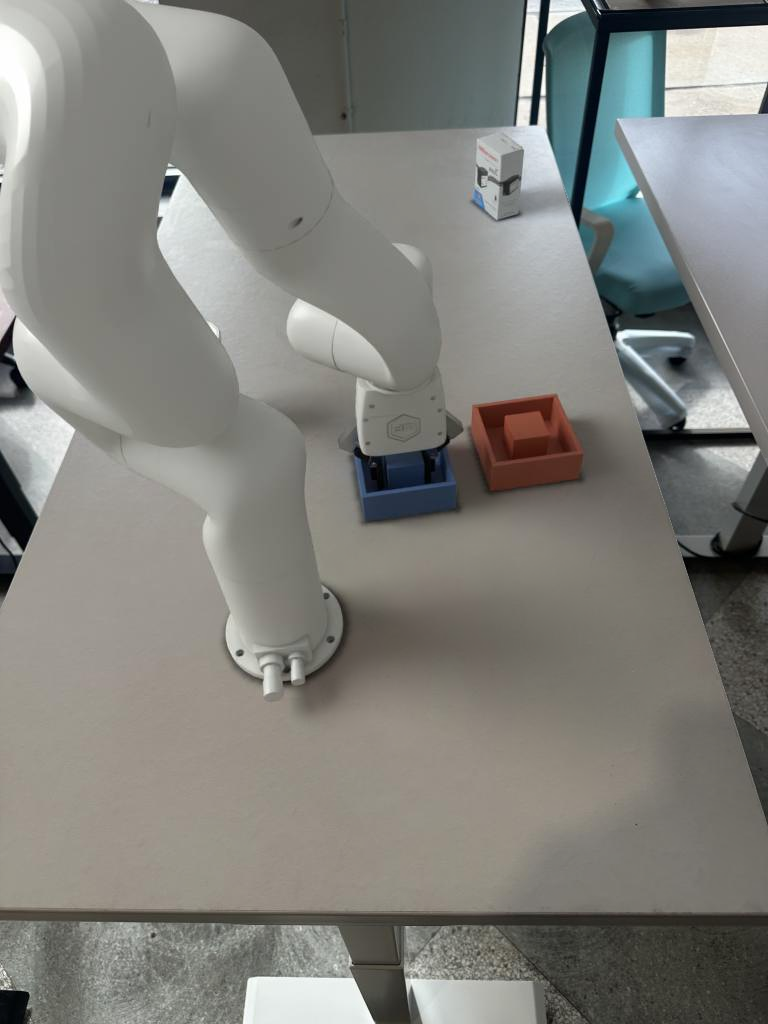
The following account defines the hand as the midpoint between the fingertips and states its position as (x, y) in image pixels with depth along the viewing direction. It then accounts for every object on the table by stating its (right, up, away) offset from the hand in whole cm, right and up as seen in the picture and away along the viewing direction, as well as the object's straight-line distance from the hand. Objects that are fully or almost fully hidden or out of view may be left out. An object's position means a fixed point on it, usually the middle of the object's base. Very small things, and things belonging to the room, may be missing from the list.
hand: (402, 476), depth 92 cm
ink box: (+18, +52, +44) cm, 71 cm away
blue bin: (0, -1, +1) cm, 1 cm away
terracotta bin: (+16, +3, +3) cm, 16 cm away
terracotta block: (+16, +3, +2) cm, 16 cm away
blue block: (0, 0, 0) cm, 1 cm away
